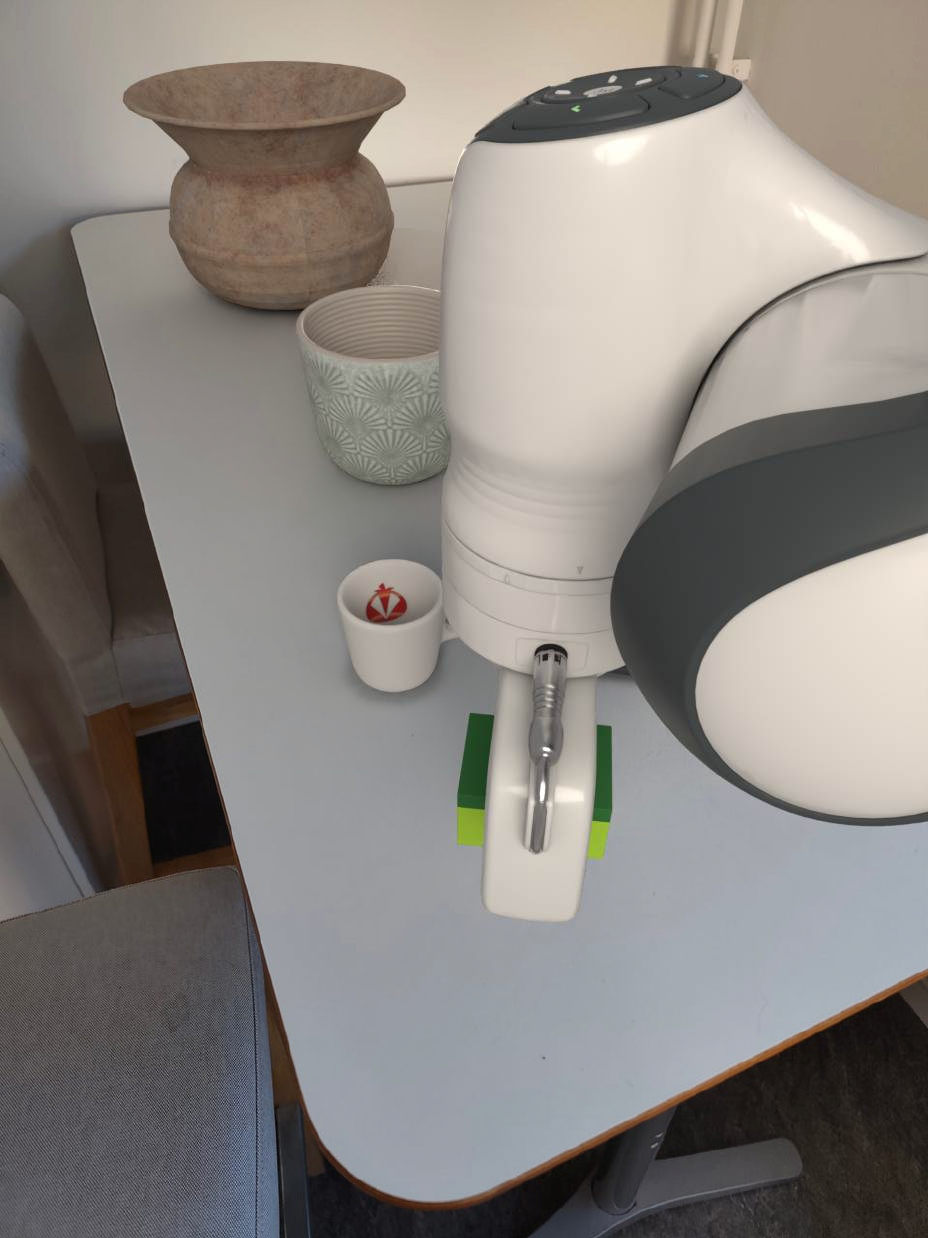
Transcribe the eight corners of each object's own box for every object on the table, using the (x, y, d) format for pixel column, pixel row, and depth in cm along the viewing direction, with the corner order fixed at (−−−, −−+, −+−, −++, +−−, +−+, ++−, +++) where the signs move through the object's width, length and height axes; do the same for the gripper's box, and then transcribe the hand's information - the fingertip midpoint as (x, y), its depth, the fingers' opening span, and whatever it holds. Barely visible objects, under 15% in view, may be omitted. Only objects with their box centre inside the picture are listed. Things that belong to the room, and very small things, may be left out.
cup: (461, 618, 73) (462, 542, 67) (493, 684, 67) (497, 607, 62) (335, 645, 70) (325, 568, 65) (357, 716, 65) (349, 639, 59)
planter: (366, 406, 99) (356, 272, 89) (502, 442, 93) (508, 303, 83) (280, 480, 88) (257, 336, 77) (428, 526, 82) (425, 378, 72)
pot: (320, 232, 141) (302, 50, 124) (461, 295, 122) (463, 92, 106) (124, 285, 124) (72, 83, 107) (254, 369, 105) (217, 140, 88)
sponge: (602, 775, 45) (611, 725, 42) (602, 859, 41) (612, 810, 39) (468, 762, 46) (469, 712, 43) (457, 844, 42) (457, 794, 39)
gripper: (651, 798, 25) (599, 1006, 34) (633, 436, 40) (601, 649, 49) (436, 776, 26) (442, 988, 35) (498, 427, 41) (491, 640, 50)
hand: (535, 787), depth 42 cm, fingers closed on sponge, 5 cm apart
